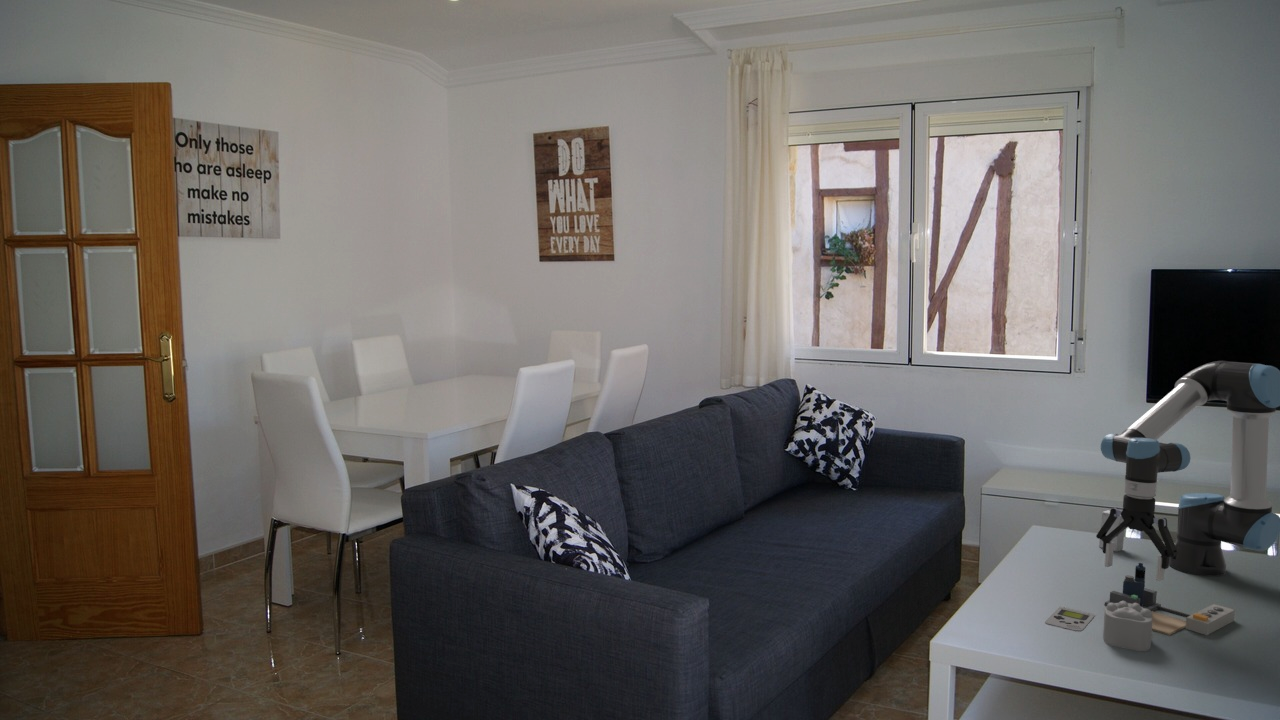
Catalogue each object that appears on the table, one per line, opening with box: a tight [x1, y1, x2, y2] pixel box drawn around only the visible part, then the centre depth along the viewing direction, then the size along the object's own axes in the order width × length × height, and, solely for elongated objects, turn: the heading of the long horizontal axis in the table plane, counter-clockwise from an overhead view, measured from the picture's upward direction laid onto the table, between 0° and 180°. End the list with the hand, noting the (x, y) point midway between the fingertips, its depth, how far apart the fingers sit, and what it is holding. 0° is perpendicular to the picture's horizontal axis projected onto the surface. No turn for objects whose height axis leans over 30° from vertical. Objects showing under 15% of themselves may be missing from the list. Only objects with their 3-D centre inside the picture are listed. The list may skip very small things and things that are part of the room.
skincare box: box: [1098, 509, 1126, 552], centre depth 295 cm, size 6×4×12 cm
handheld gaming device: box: [1044, 606, 1096, 632], centre depth 235 cm, size 9×1×15 cm
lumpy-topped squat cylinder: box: [1102, 601, 1153, 652], centre depth 222 cm, size 10×13×9 cm
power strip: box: [1185, 603, 1236, 636], centre depth 232 cm, size 16×5×4 cm, turn 126°
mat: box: [1151, 610, 1186, 636], centre depth 234 cm, size 12×12×1 cm
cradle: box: [1104, 587, 1191, 618], centre depth 240 cm, size 11×21×5 cm, turn 36°
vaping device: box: [1122, 562, 1146, 608], centre depth 244 cm, size 3×5×12 cm, turn 78°
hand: (1133, 572), depth 244 cm, fingers open, 13 cm apart
